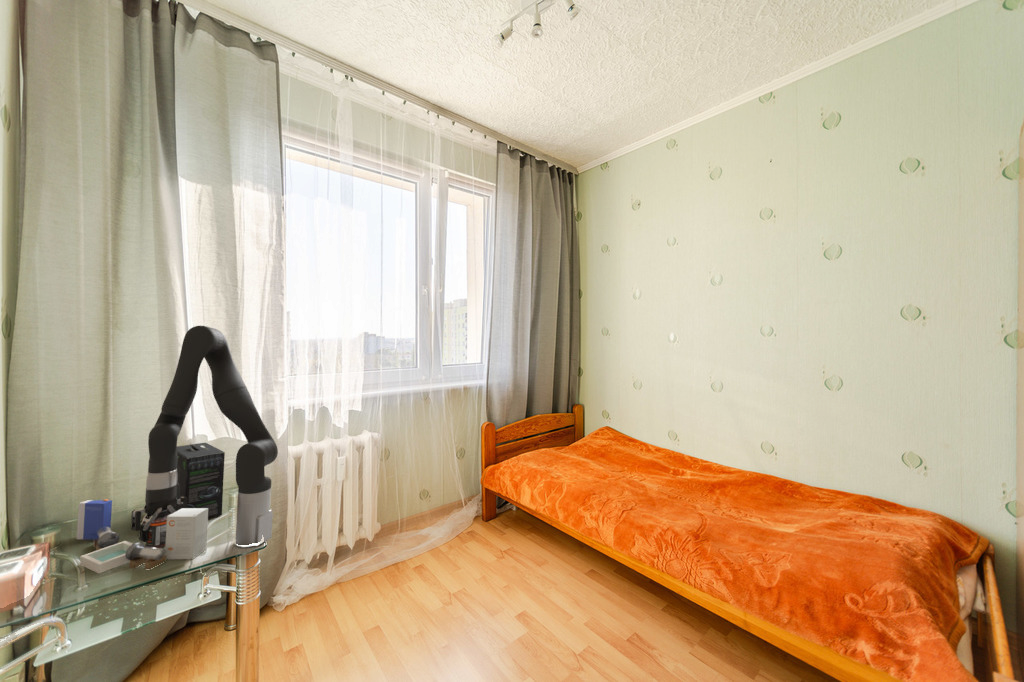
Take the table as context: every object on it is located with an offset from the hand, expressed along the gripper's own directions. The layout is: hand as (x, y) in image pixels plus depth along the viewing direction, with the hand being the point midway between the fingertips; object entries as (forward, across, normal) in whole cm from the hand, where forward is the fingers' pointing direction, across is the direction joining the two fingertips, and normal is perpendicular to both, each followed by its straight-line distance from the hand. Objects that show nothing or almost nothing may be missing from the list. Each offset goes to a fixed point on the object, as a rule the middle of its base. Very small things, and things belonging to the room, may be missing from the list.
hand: (159, 535), depth 126 cm
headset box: (+3, -19, -17) cm, 26 cm away
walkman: (+3, +6, -23) cm, 24 cm away
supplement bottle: (+3, 0, 0) cm, 3 cm away
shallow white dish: (+3, +11, -1) cm, 11 cm away
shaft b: (+3, +8, -13) cm, 15 cm away
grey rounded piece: (+3, +8, +10) cm, 13 cm away
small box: (+3, 0, +13) cm, 14 cm away
